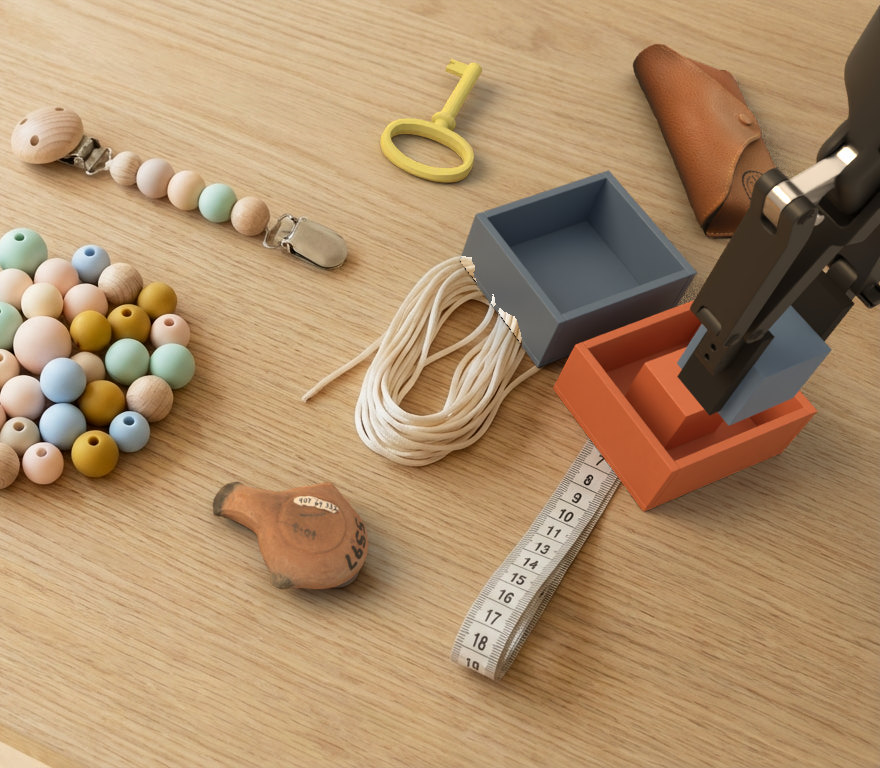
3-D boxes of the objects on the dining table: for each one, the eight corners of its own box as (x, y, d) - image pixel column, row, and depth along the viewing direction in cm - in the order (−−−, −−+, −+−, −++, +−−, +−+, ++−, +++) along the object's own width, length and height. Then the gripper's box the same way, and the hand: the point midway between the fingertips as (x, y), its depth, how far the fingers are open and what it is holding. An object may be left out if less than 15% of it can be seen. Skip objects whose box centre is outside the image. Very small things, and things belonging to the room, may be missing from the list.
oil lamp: (318, 470, 78) (203, 509, 76) (322, 430, 75) (202, 470, 73) (383, 580, 73) (261, 625, 71) (391, 542, 70) (263, 588, 68)
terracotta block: (674, 380, 82) (700, 341, 78) (715, 431, 80) (743, 394, 76) (621, 401, 81) (644, 362, 77) (660, 453, 79) (686, 416, 75)
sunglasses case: (808, 230, 90) (799, 176, 85) (710, 264, 93) (696, 215, 88) (726, 65, 100) (714, 9, 95) (640, 100, 103) (624, 48, 98)
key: (478, 80, 99) (484, 59, 97) (469, 189, 92) (476, 169, 90) (389, 66, 99) (394, 45, 97) (375, 174, 92) (379, 154, 90)
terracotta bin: (686, 336, 85) (714, 291, 81) (782, 452, 80) (818, 411, 75) (552, 388, 82) (575, 344, 78) (643, 512, 77) (672, 472, 72)
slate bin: (586, 217, 91) (608, 169, 87) (670, 317, 86) (697, 272, 81) (458, 261, 88) (475, 213, 84) (537, 368, 83) (559, 323, 78)
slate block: (739, 337, 67) (774, 286, 63) (793, 398, 65) (832, 349, 61) (676, 363, 66) (707, 313, 62) (728, 426, 64) (764, 378, 60)
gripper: (1075, -85, 50) (813, 277, 69) (743, 22, 45) (561, 378, 65) (1231, 27, 46) (908, 376, 66) (887, 156, 42) (648, 492, 61)
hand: (736, 377), depth 65 cm, fingers closed on slate block, 4 cm apart
